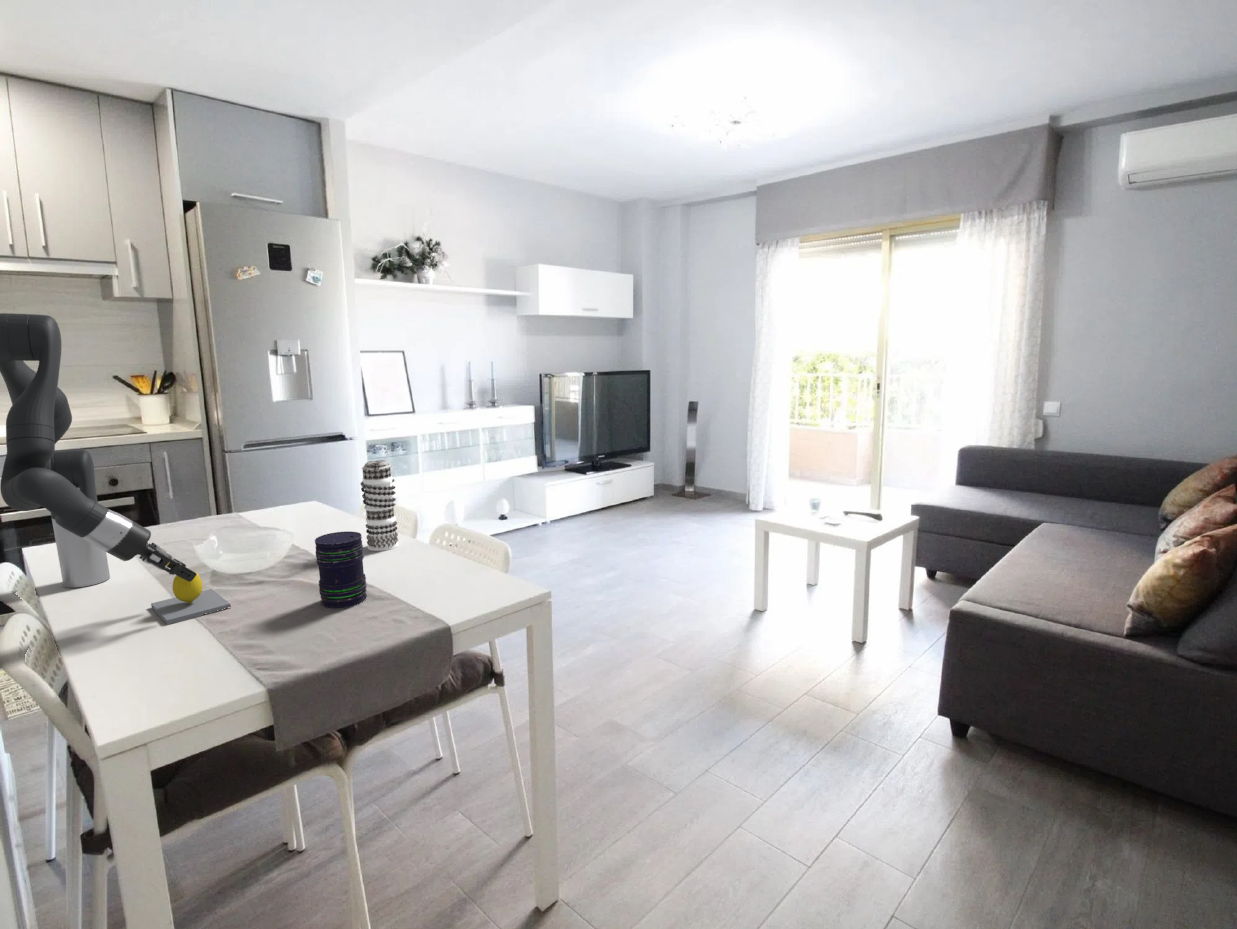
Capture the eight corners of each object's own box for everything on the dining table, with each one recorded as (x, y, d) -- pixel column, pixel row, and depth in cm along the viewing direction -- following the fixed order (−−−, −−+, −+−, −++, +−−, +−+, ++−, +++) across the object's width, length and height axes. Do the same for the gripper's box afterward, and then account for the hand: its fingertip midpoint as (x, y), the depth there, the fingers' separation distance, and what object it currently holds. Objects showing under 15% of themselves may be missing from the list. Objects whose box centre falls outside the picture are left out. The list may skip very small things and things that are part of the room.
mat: (151, 607, 147) (151, 603, 147) (212, 592, 156) (211, 588, 156) (167, 624, 138) (166, 620, 138) (230, 608, 146) (230, 603, 146)
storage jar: (317, 611, 144) (310, 545, 141) (324, 595, 153) (318, 533, 150) (365, 606, 146) (359, 541, 144) (369, 590, 155) (364, 529, 153)
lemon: (171, 609, 143) (166, 574, 142) (180, 600, 149) (175, 566, 147) (200, 606, 145) (195, 571, 143) (207, 597, 150) (203, 564, 149)
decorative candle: (367, 543, 193) (359, 460, 189) (400, 540, 196) (393, 458, 192) (365, 552, 185) (357, 465, 180) (399, 549, 188) (392, 463, 183)
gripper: (138, 525, 132) (209, 566, 142) (123, 514, 142) (191, 552, 152) (109, 557, 129) (184, 596, 139) (96, 543, 139) (167, 580, 149)
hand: (188, 573), depth 146 cm, fingers open, 8 cm apart
